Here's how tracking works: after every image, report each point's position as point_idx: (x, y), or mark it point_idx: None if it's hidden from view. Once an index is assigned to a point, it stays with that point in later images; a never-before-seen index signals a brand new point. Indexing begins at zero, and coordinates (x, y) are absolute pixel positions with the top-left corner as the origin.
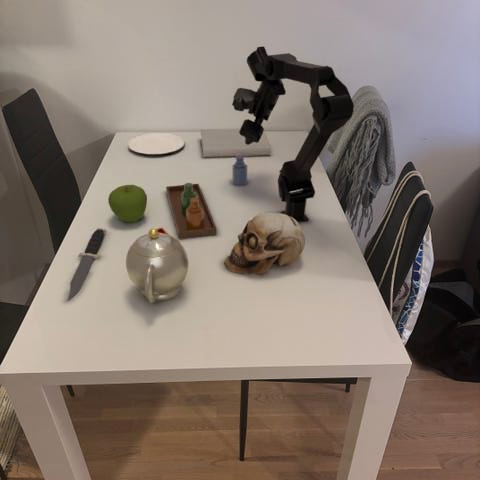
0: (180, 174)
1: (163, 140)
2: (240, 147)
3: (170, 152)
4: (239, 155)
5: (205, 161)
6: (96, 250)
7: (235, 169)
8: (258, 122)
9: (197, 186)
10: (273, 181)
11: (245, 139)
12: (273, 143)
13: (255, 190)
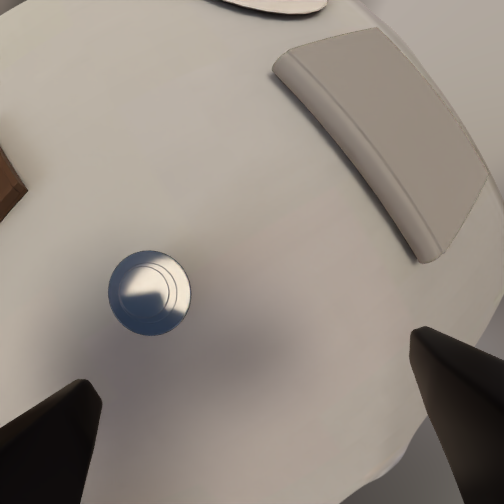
0: (115, 75)
1: None
2: (377, 161)
3: (229, 2)
4: (161, 277)
5: (252, 88)
6: None
7: (109, 289)
8: (416, 376)
9: (3, 192)
10: (246, 404)
11: (21, 419)
12: (467, 225)
13: (130, 388)
